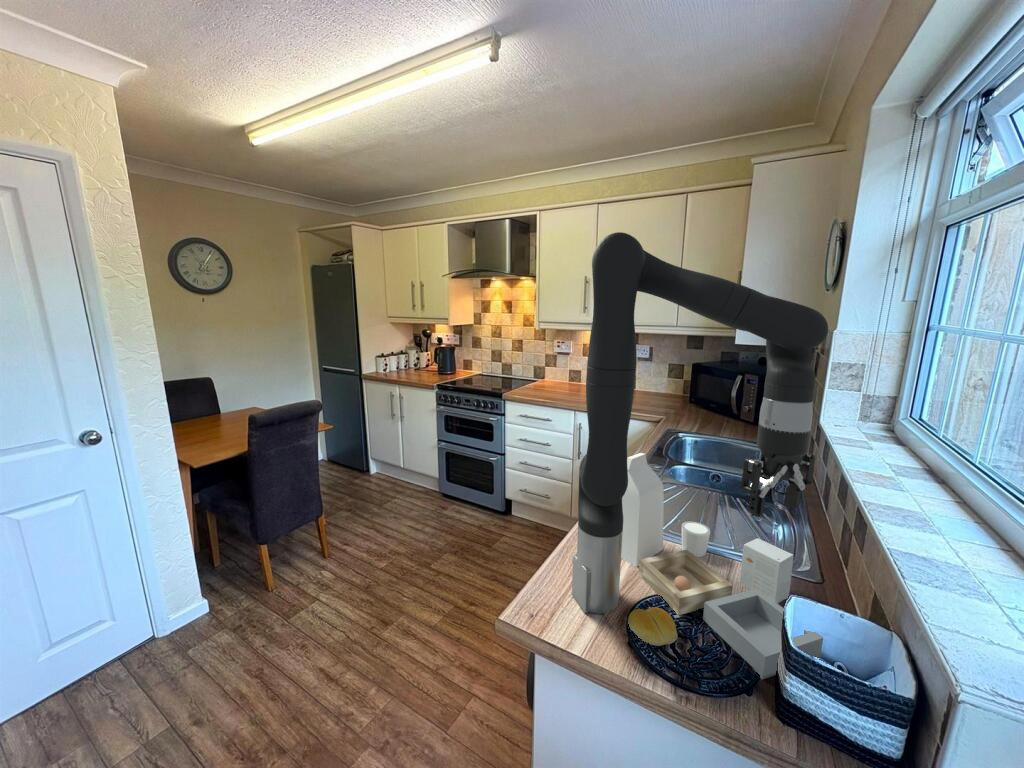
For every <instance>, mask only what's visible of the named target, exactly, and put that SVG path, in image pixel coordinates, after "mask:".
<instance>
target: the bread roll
mask: <svg viewBox="0 0 1024 768" xmlns="http://www.w3.org/2000/svg"><path fill="white" fill-rule="evenodd" d="M628 624H629V627H630V628H631V630H632V631H633V632H634V633H635V634H636V635H637V636H638V638H640V639H642V640H643V641H644V642H643V641H642V642H643V643H645V642H646V643H645V644H648V643H649V645H651V646H659V647H660V646H666V645H671V644H673V643H675V641H677V640H678V631H677V627H676V623H675V620H674V619H673V617H672V616H671V615H670V614H669V612H668V611H666V610H664V609H663V608H661V607H660V608H659V607H656V606H655V607H653V606H652V607H649V608H647V609H641V608H636V609H633V610H632V611H631V612H630V613H629V616H628V619H627V625H628ZM629 627H628V628H629ZM638 638H637V639H638ZM640 639H639V640H640Z"/></svg>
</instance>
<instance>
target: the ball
mask: <svg viewBox="0 0 1024 768" xmlns="http://www.w3.org/2000/svg"><path fill="white" fill-rule="evenodd" d="M674 585H675V587H676V588H677V589H679V590H680V591H685V590H689V589H690V588H691V584H690V581H689V580H688V579H687V578H686V577H684V576H678V577H676V578H675V580H674Z"/></svg>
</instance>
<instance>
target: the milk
mask: <svg viewBox="0 0 1024 768" xmlns="http://www.w3.org/2000/svg"><path fill="white" fill-rule="evenodd" d="M627 469H628V487H627V490H626V492H625V494H624V496H623V497H622V508H623V535H622V551H621V560H624V561H625V562H627V563H629V564H630V565H632V566H634V567H636V568H637V567H639V560H640V559H644V558H649V557H654V556H656V554H658V553H660V552H661V551H663V550H664V511H665V509H664V507H665V506H664V504H665V503H664V502H665V501H664V500H665V499H664V495H665V493H664V491H665V488H664V484H663V482H662V480H661V478H660V477H659V476H658V475H657V474H656V472H655V471H654V470H653V469H652V468H651V466H650V465H649V464H648V462H647V456H646V453H643V452H639V453H637V454H634V455H631V456H627Z"/></svg>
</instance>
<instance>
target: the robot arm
mask: <svg viewBox="0 0 1024 768" xmlns="http://www.w3.org/2000/svg"><path fill="white" fill-rule="evenodd" d="M591 259H592V260H591V261H592V262H591V269H592V270H591V271H592V272H591V273H592V291H593V293H592V294H593V295H592V296H593V310H592V311H593V314H592V322H591V327H590V336H589V342H588V343H589V344H588V353H587V354H588V355H587V361H586V362H587V364H586V374H585V375H586V378H585V402H586V403H585V404H586V405H585V406H586V414H587V424H588V425H587V426H588V440H587V441H588V442H587V449H586V454H585V455H584V456H583V457H582V459H581V461H580V463H579V469H578V471H579V472H578V497H577V498H578V501H577V507H578V508H577V509H578V510H577V513H578V515H577V517H578V518H577V519H578V520H577V541H576V543H577V544H576V545H577V546H576V548H577V549H576V554H574V555H573V556H572V576H571V577H572V580H571V596H573V598H574V600H575V602H577V604H578V606H579V608H580V609H581V610H582V612H584V613H585V614H586V613H591V614H592V613H593V614H598V615H605V613H609V612H611V611H614V609H616V608H617V607H618V605H619V601H620V599H619V598H620V583H621V582H620V581H621V569H622V568H621V564H622V559H621V551H622V535H623V508H622V497H623V496H624V494H625V492H626V490H627V487H628V469H627V458H628V436H629V435H628V433H629V428H630V421H631V415H632V409H633V403H634V402H633V401H634V394H635V387H636V374H637V339H636V338H637V336H636V327H635V325H636V324H635V307H636V300H637V295H638V292H640V293H644V294H649V295H651V296H653V297H656V298H657V297H658V298H661V299H663V300H666V301H668V302H670V303H673V304H675V305H677V306H679V307H682V308H684V309H687V310H689V311H691V312H692V313H695V314H698V315H699V316H702V317H704V318H706V319H708V320H710V321H714V322H717V323H719V324H722V325H725V326H727V327H729V328H732V329H735V330H737V331H743V332H747V333H750V334H752V335H755V336H757V337H759V338H762V339H763V340H765V353H766V374H765V380H764V386H763V387H764V388H763V389H764V390H763V397H762V402H761V405H760V410H759V417H758V418H759V420H758V427H757V429H758V430H757V435H756V437H757V438H756V446H757V448H758V449H759V450H760V455H759V458H758V459H752V458H749V457H747V458H745V459H744V463H743V469H742V475H741V476H742V477H741V483H740V490H741V491H743V492H745V493H747V494H749V501H748V502H749V503H748V510H749V513H751V514H752V515H754V516H756V517H757V518H758V517H759V518H761V517H763V516H764V512H765V511H764V510H765V503H766V497H765V496H766V495H767V493H768V492H769V490H770V489H773V488H774V487H776V486H777V485H776V484H777V483H780V482H783V481H785V482H786V484H787V485H788V486H785V488H786V489H785V496H784V497H785V498H784V505H785V507H787V508H789V509H792V510H794V511H795V510H798V509H799V508H800V504H801V497H802V491H804V490H805V488H806V486H808V487H811V486H812V485H813V481H814V480H813V479H814V470H815V458H816V456H815V454H813V453H810V452H809V448H810V438H811V433H812V432H811V431H812V424H813V417H814V416H813V415H814V413H813V412H814V411H813V408H814V407H813V402H814V393H815V386H816V372H815V369H814V368H813V367H812V362H811V358H812V349H815V348H816V347H818V346H819V345H822V343H823V342H824V341H825V340H826V338H827V337H828V333H829V325H828V321H827V319H826V318H825V316H824V315H823V314H822V313H821V312H819V311H818V310H816V309H814V308H812V307H809V306H806V305H803V304H800V303H797V302H794V301H790V300H787V299H781V298H777V297H774V296H770V295H767V294H765V293H763V292H760V291H759V290H755V289H753V288H750V287H747V286H746V285H743V284H739V283H737V282H734V281H731V280H728V279H725V278H722V277H719V276H714V275H712V274H711V275H710V274H707V273H704V272H698V271H695V270H691V269H687V268H683V267H680V266H677V265H674V264H671V263H669V262H667V261H664V260H663V259H660V258H659V257H657V256H655V255H653V254H651V253H650V252H648V251H646V250H645V249H644V248H643V246H642V244H641V243H640V241H639V240H638V239H637V238H636V237H635V236H633V235H631V234H629V233H626V232H622V231H621V232H613V233H611V234H607V235H606V236H605V237H603V239H601V241H599V242H598V244H597V245H596V247H595V249H594V251H593V254H592V258H591ZM803 473H805V476H803ZM763 476H764V477H765V478H766V479H765V478H763ZM750 481H751V483H750ZM749 483H750V484H749ZM760 485H762V486H761V488H759V487H760Z"/></svg>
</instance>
